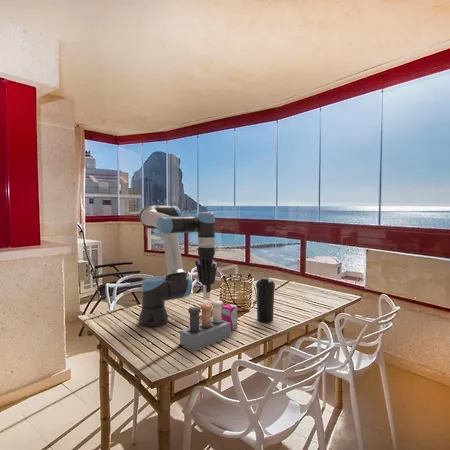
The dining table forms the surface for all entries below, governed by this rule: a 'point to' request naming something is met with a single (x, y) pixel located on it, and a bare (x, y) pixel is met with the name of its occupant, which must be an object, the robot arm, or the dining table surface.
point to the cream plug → (217, 311)
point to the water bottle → (265, 299)
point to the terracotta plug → (206, 314)
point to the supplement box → (230, 315)
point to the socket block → (205, 335)
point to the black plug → (194, 318)
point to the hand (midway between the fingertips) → (206, 298)
